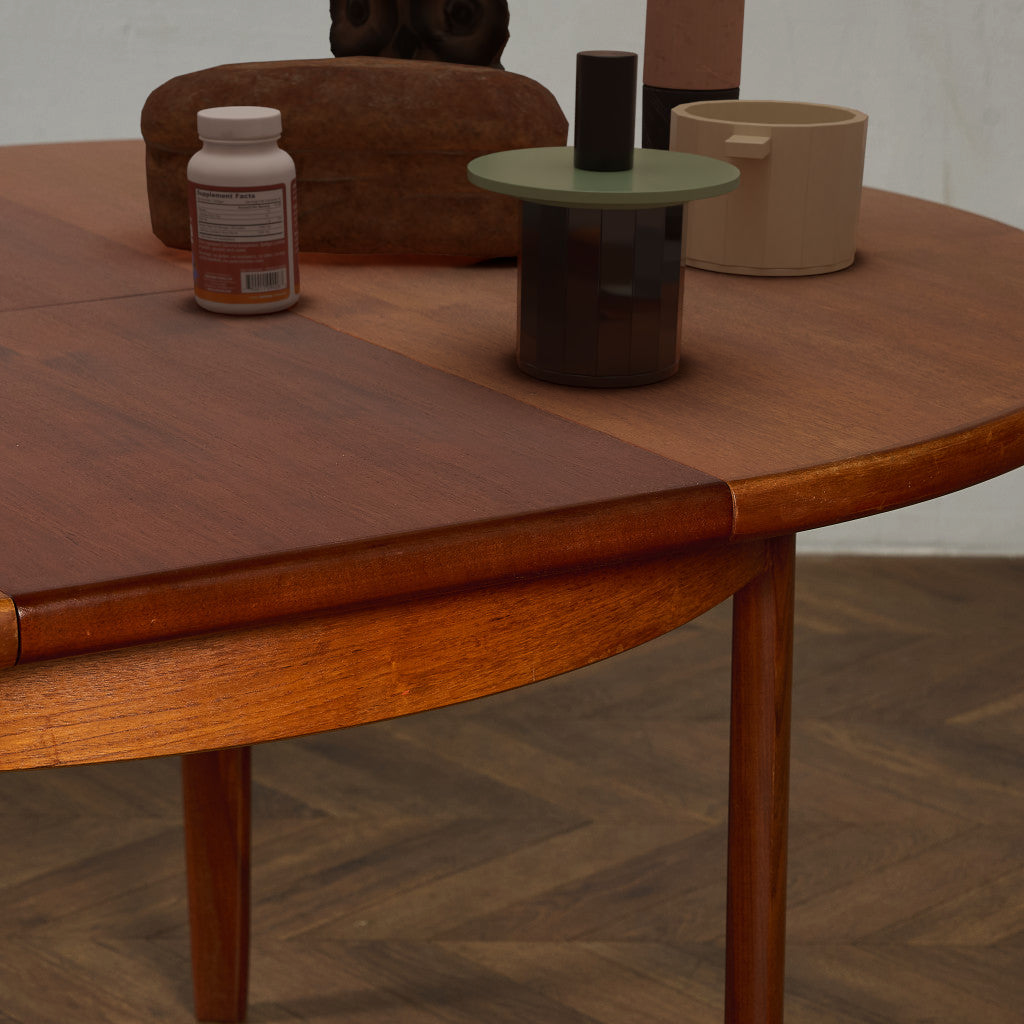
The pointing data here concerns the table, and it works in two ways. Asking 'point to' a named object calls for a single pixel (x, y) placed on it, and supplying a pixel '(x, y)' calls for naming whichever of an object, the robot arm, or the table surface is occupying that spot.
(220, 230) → the pill bottle
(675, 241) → the cup
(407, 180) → the bread
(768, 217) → the pot
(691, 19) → the travel mug
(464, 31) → the owl
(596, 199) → the lid
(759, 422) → the table surface
